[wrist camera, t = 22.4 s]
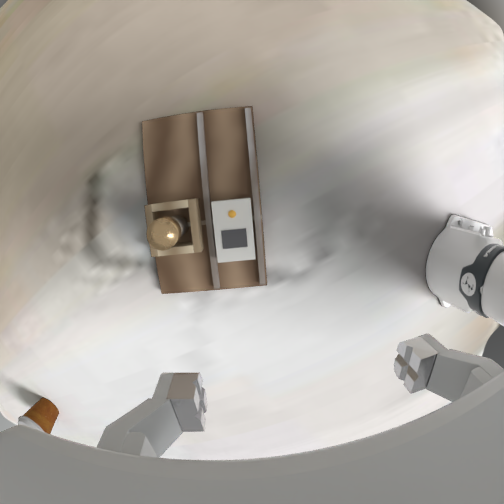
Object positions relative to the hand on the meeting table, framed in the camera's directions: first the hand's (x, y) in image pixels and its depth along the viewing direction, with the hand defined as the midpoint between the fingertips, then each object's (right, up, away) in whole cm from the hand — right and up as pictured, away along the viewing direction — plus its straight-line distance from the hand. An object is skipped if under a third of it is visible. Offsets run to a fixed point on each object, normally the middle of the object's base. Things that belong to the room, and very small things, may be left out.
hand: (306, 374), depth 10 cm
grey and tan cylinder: (-13, +8, +28) cm, 32 cm away
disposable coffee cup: (-56, -36, +38) cm, 77 cm away
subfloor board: (-9, +12, +29) cm, 32 cm away
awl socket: (-13, +8, +28) cm, 32 cm away
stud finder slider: (-5, +8, +28) cm, 29 cm away
